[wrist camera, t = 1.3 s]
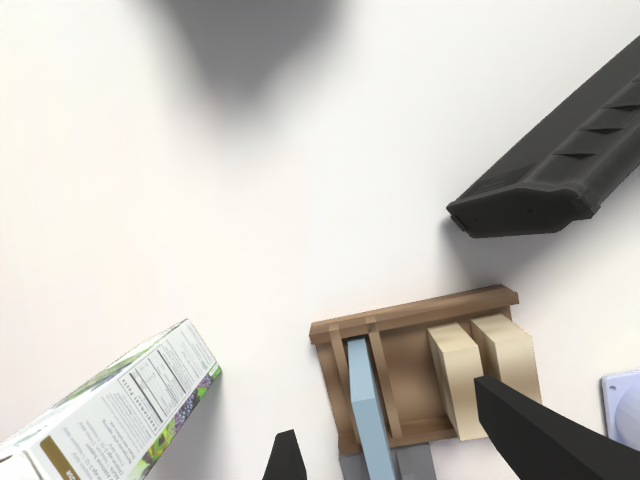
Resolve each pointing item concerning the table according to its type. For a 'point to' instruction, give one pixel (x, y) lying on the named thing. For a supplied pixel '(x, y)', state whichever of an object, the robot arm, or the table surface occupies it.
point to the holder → (394, 463)
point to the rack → (400, 362)
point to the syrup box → (116, 414)
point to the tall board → (368, 411)
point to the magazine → (562, 159)
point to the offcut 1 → (457, 377)
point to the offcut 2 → (507, 353)
